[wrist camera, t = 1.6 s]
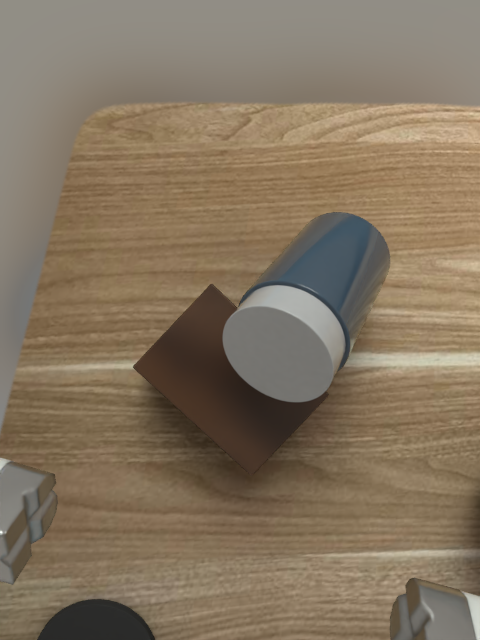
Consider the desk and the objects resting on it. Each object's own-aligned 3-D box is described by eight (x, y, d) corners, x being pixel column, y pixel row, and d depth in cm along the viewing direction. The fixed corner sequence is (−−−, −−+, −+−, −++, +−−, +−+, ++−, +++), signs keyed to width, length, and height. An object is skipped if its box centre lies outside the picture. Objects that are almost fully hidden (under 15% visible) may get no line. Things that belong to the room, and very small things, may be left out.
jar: (322, 206, 32) (383, 150, 20) (385, 268, 32) (483, 250, 20) (206, 329, 32) (196, 348, 20) (270, 389, 32) (299, 444, 20)
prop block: (213, 285, 32) (211, 283, 27) (313, 379, 32) (329, 394, 27) (146, 356, 32) (132, 367, 27) (247, 449, 33) (251, 476, 28)
